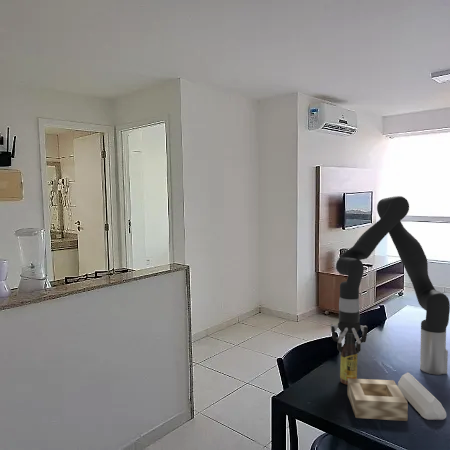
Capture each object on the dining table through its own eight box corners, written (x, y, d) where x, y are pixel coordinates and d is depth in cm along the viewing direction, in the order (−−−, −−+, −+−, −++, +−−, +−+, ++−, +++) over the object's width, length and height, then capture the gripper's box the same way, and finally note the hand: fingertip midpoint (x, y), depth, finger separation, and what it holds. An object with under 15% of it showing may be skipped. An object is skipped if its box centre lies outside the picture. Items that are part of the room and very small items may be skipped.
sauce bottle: (348, 387, 153) (348, 335, 151) (336, 380, 158) (336, 331, 157) (360, 383, 156) (361, 333, 154) (348, 377, 161) (349, 328, 160)
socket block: (393, 396, 145) (393, 380, 145) (407, 420, 129) (407, 402, 129) (347, 394, 147) (347, 378, 147) (355, 417, 131) (355, 399, 131)
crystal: (456, 411, 128) (420, 377, 152) (436, 400, 128) (403, 368, 152) (443, 431, 128) (409, 394, 152) (424, 420, 128) (393, 385, 152)
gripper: (366, 307, 158) (366, 349, 159) (328, 306, 160) (328, 347, 161) (370, 312, 150) (370, 356, 151) (331, 311, 152) (330, 355, 153)
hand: (348, 351), depth 156 cm, fingers closed on sauce bottle, 5 cm apart
